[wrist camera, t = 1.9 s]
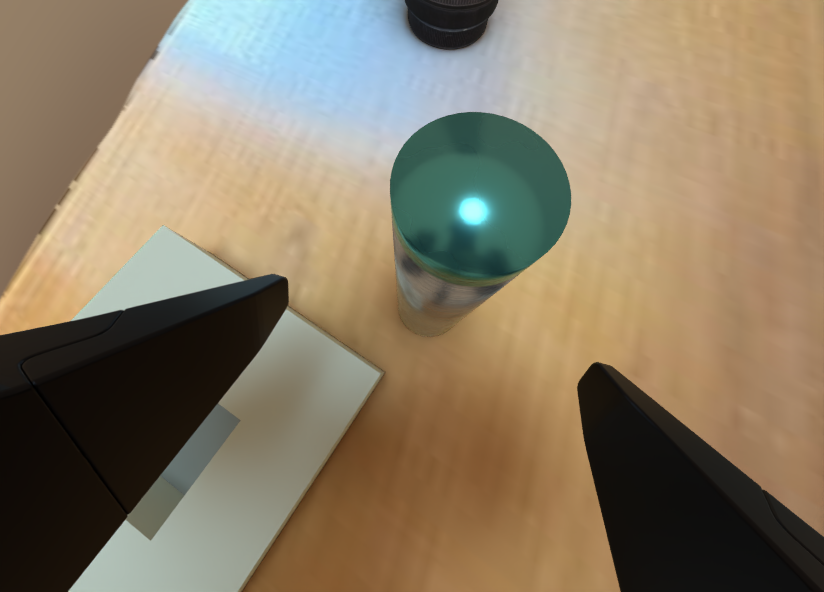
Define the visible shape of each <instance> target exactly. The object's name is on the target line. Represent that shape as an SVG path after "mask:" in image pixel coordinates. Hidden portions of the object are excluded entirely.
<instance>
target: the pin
mask: <svg viewBox="0 0 824 592" xmlns="http://www.w3.org/2000/svg"><path fill="white" fill-rule="evenodd" d="M390 197H391V211H392V226H393V240H394V255H395V269H396V284H397V298H398V310H399V315H400V318H401V320H402V322H403V323H404V324H405V326H406V327H407V328H408V329H409V330H411V331H412V332H414V333H415V334H418V335H421V336H426V337H433V336H438V335H441V334H443V333H445V332H446V331H448V330H449V329H450V328H452V327H453V326H454V325H455V324H457V323H458V322H459V321H461V320H462V319H463V318H464V317H466V316H467V315H468V314H469V313H471V312H472V311H473V310H474V309H476V308H477V307H478V306H480V305H481V304H482V303H483V302H485V301H486V300H487V299H488V298H490V297H491V296H492V295H494V294H495V293H496V292H497V291H499V290H500V289H501V288H502V287H504V286H505V285H506V284H508V283H509V282H510V281H511V280H513V279H514V278H515V277H516V276H518V275H519V274H520V273H522V272H523V271H524V270H525V269H527V268H528V267H529V266H530V265H532V264H533V263H534V262H536V261H537V260H538V259H539V258H541V257H542V256H543V255H544V254H546V253H547V252H548V251H549V250H550V249H551V248H552V247H553V246H554V245H555V244H556V242H557V241H558V239H559V238H560V236H561V235H562V233H563V231H564V229H565V227H566V225H567V221H568V218H569V215H570V208H571V190H570V184H569V180H568V177H567V173H566V171H565V169H564V167H563V164H562V162H561V161H560V159H559V157H558V156H557V154H556V153H555V152H554V150H553V149H552V148H551V147H550V145H549V144H548V143H547V142H546V141H545V140H544V139H543V138H542V137H540V136H539V135H538V134H536V133H535V132H534V131H533V130H531V129H529V128H528V127H526V126H524V125H523V124H521V123H518V122H516V121H514V120H512V119H509V118H506V117H503V116H499V115H495V114H490V113H482V112H466V113H457V114H453V115H448V116H445V117H442V118H439V119H437V120H435V121H432V122H430V123H428V124H427V125H425V126H424V127H422V128H421V129H419V130H418V131H417V132H416V133H414V134H413V135H412V136H411V137H410V138H409V139H408V141H407V142H406V143H405V144H404V146H403V147H402V149H401V150H400V151H399V154H398V156H397V158H396V160H395V162H394V165H393V169H392V173H391V179H390Z"/></svg>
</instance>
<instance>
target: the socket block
mask: <svg viewBox="0 0 824 592" xmlns="http://www.w3.org/2000/svg"><path fill="white" fill-rule="evenodd" d="M244 280H249V279H248V278H247V277H245V276H244V275H242V274H241V273H239V272H238V271H236V270H235V269H233V268H232V267H230V266H229V265H228V264H226V263H225V262H223V261H222V260H220V259H219V258H217V257H216V256H214V255H213V254H211V253H210V252H208V251H206V250H205V249H203V248H201V247H200V246H198V245H196V244H195V243H193V242H191V241H190V240H188V239H186V238H184V237H183V236H181V235H179V234H178V233H176V232H174V231H173V230H171V229H169V228H168V227H166V226H164V225H163V226H162V227H161V228H160V229H159V230H158V231H157V232H156V233H155V234H154V235H153V236H152V237H151V238H150V239H149V240H148V241H147V242H146V243H145V244H144V245H143V246H142V247H141V248H140V249H139V251H138V252H137V253H136V254H135V255H134V256H133V257H132V258H131V259H130V260H129V261H128V262H127V263H126V264H125V265H124V266H123V267H122V268H121V269H120V270H119V271H118V272H117V273H116V274H115V275H114V277H113V278H112V279H111V280H110V281H109V282H108V283H107V284H106V285H105V286H104V287H103V288H102V289H101V290H100V291H99V292H98V293H97V294H96V295H95V296H94V297H93V298H92V299H91V300H90V301H89V303H88V304H87V305H86V306H85V307H84V308H83V309H82V310H81V311H80V312H79V313H78V314H77V315H76V316H75V317H74V318H73V319H72V320H71V321H74V320H79V319H83V318H87V317H92V316H96V315H101V314H105V313H109V312H113V311H117V310H125V309H126V308H131V307H135V306H139V305H143V304H147V303H152V302H156V301H160V300H164V299H168V298H173V297H177V296H181V295H185V294H190V293H194V292H198V291H202V290H206V289H211V288H215V287H219V286H223V285H227V284H232V283H236V282H240V281H244ZM384 374H385V372H384V371H383V370H381V369H380V368H378V367H377V366H375V365H374V364H373V363H371V362H370V361H368V360H367V359H365V358H364V357H362V356H361V355H359V354H358V353H356V352H355V351H354V350H352V349H351V348H349V347H348V346H346V345H345V344H343V343H342V342H340V341H339V340H337V339H336V338H334V337H333V336H332V335H330V334H329V333H327V332H326V331H324V330H323V329H321V328H320V327H318V326H317V325H315V324H314V323H313V322H311V321H310V320H308V319H307V318H305V317H304V316H302V315H301V314H299V313H298V312H296V311H295V310H293V309H292V308H291V307H289V306H287V308H286V310H285V312H284V313H283V315H282V317H281V318H280V320H279V321H278V323H277V325H276V326H275V328H274V329H273V331H272V333H271V334H270V336H269V337H268V339H267V341H266V342H265V344H264V345H263V347H262V348H261V350H260V351H259V352H258V354H257V355H256V356H255V357H254V359H253V360H252V361H251V362H250V364H249V365H248V366H247V367H246V369H245V370H244V371H243V373H242V374H241V375H240V376H239V378H238V379H237V380H236V381H235V383H234V384H233V385H232V386H231V388H230V389H229V390H228V391H227V393H226V394H225V395H224V396H223V398H222V399H221V400H220V401H219V403H218V404H217V405H216V406H215V408H214V409H213V410H212V411H211V413H210V414H209V415H208V416H207V418H206V419H205V420H204V421H203V423H202V424H201V425H200V426H199V428H198V429H197V430H196V431H195V433H194V434H193V435H192V436H191V438H190V439H189V440H188V441H187V443H186V444H185V445H184V447H183V448H182V449H181V450H180V452H179V453H178V454H177V455H176V457H175V458H174V459H173V460H172V462H171V463H170V464H169V465H168V467H167V468H166V469H165V470H164V472H163V473H162V474H161V475H160V477H159V478H158V479H157V480H156V482H155V483H154V484H153V485H152V487H151V488H150V489H149V490H148V492H147V493H146V494H145V495H144V497H143V498H142V499H141V500H140V502H139V503H138V504H137V505H136V507H135V508H134V509H133V510H132V512H131V513H130V514H128V517H127V518H126V520H125V521H124V522H123V523H122V525H121V526H120V527H119V528H118V530H117V531H116V532H115V533H114V535H113V536H112V537H111V539H110V540H109V541H108V542H107V544H106V545H105V546H104V547H103V549H102V550H101V551H100V552H99V554H98V555H97V556H96V557H95V559H94V560H93V561H92V562H91V564H90V565H89V566H88V567H87V569H86V570H85V571H84V572H83V574H82V575H81V576H80V577H79V579H78V580H77V581H76V582H75V584H74V585H73V586H72V587H71V589H70V590H69V591H68V592H242V591H243V589H244V588H245V586H246V585H247V583H248V581H249V580H250V578H251V577H252V575H253V574H254V572H255V571H256V569H257V568H258V566H259V565H260V563H261V562H262V560H263V559H264V557H265V555H266V554H267V552H268V551H269V549H270V548H271V546H272V545H273V543H274V542H275V540H276V539H277V537H278V536H279V534H280V533H281V531H282V530H283V528H284V526H285V525H286V523H287V522H288V520H289V519H290V517H291V516H292V514H293V513H294V511H295V510H296V508H297V507H298V505H299V504H300V502H301V500H302V499H303V497H304V496H305V494H306V493H307V491H308V490H309V488H310V487H311V485H312V484H313V482H314V481H315V479H316V478H317V476H318V475H319V473H320V471H321V470H322V468H323V467H324V465H325V464H326V462H327V461H328V459H329V458H330V456H331V455H332V453H333V452H334V450H335V449H336V447H337V445H338V444H339V442H340V441H341V439H342V438H343V436H344V435H345V433H346V432H347V430H348V429H349V427H350V426H351V424H352V423H353V421H354V419H355V418H356V416H357V415H358V413H359V412H360V410H361V409H362V407H363V406H364V404H365V403H366V401H367V400H368V398H369V397H370V395H371V394H372V392H373V390H374V389H375V387H376V386H377V384H378V383H379V381H380V380H381V378H382V377H383V375H384Z"/></svg>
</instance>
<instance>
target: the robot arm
mask: <svg viewBox="0 0 824 592" xmlns="http://www.w3.org/2000/svg"><path fill="white" fill-rule="evenodd" d="M288 302H289V296H288V280H287V278H286V277H283V276H279V275H276V274H270V275H265V276H261V277H257V278H253V279H249V280H244V281H240V282H236V283H232V284H227V285H223V286H219V287H215V288H211V289H206V290H202V291H198V292H194V293H190V294H185V295H181V296H177V297H173V298H168V299H164V300H160V301H156V302H152V303H147V304H143V305H139V306H135V307H131V308H126V309H125V310H117V311H113V312H109V313H105V314H101V315H96V316H92V317H87V318H83V319H79V320H74V321H70V322H65V323H60V324H55V325H50V326H45V327H40V328H35V329H30V330H25V331H20V332H15V333H10V334H5V335H0V592H68V591H69V590H70V589H71V587H72V586H73V585H74V584H75V582H76V581H77V580H78V579H79V577H80V576H81V575H82V574H83V572H84V571H85V570H86V569H87V567H88V566H89V565H90V564H91V562H92V561H93V560H94V559H95V557H96V556H97V555H98V554H99V552H100V551H101V550H102V549H103V547H104V546H105V545H106V544H107V542H108V541H109V540H110V539H111V537H112V536H113V535H114V533H115V532H116V531H117V530H118V528H119V527H120V526H121V525H122V523H123V522H124V521H125V520H126V518H127V517H128V514H130V513H131V512H132V510H133V509H134V508H135V507H136V505H137V504H138V503H139V502H140V500H141V499H142V498H143V497H144V495H145V494H146V493H147V492H148V490H149V489H150V488H151V487H152V485H153V484H154V483H155V482H156V480H157V479H158V478H159V477H160V475H161V474H162V473H163V472H164V470H165V469H166V468H167V467H168V465H169V464H170V463H171V462H172V460H173V459H174V458H175V457H176V455H177V454H178V453H179V452H180V450H181V449H182V448H183V447H184V445H185V444H186V443H187V441H188V440H189V439H190V438H191V436H192V435H193V434H194V433H195V431H196V430H197V429H198V428H199V426H200V425H201V424H202V423H203V421H204V420H205V419H206V418H207V416H208V415H209V414H210V413H211V411H212V410H213V409H214V408H215V406H216V405H217V404H218V403H219V401H220V400H221V399H222V398H223V396H224V395H225V394H226V393H227V391H228V390H229V389H230V388H231V386H232V385H233V384H234V383H235V381H236V380H237V379H238V378H239V376H240V375H241V374H242V373H243V371H244V370H245V369H246V367H247V366H248V365H249V364H250V362H251V361H252V360H253V359H254V357H255V356H256V355H257V354H258V352H259V351H260V350H261V348H262V347H263V345H264V344H265V342H266V341H267V339H268V337H269V336H270V334H271V333H272V331H273V329H274V328H275V326H276V325H277V323H278V321H279V320H280V318H281V317H282V315H283V313H284V312H285V310H286V308H287V306H288ZM577 391H578V399H579V406H580V414H581V422H582V429H583V436H584V441H585V446H586V451H587V455H588V459H589V463H590V467H591V471H592V475H593V479H594V484H595V488H596V492H597V496H598V500H599V504H600V508H601V512H602V517H603V521H604V525H605V529H606V533H607V537H608V541H609V545H610V550H611V554H612V558H613V562H614V566H615V570H616V574H617V578H618V583H619V587H620V591H621V592H824V537H823V536H822V535H820V534H819V533H818V532H817V531H815V530H814V529H813V528H812V527H810V526H809V525H808V524H807V523H805V522H804V521H803V520H802V519H800V518H799V517H798V516H797V515H795V514H794V513H793V512H792V511H790V510H789V509H788V508H787V507H785V506H784V505H783V504H782V503H780V502H779V501H778V500H777V499H775V498H774V497H773V496H772V495H771V494H769V493H768V492H767V491H765V490H762V489H761V487H760V486H759V485H758V484H757V483H756V482H754V481H753V480H752V479H751V478H749V477H748V476H747V475H746V474H744V473H743V472H742V471H741V470H740V469H738V468H737V467H736V466H735V465H733V464H732V463H731V462H730V461H728V460H727V459H726V458H725V457H723V456H722V455H721V454H720V453H719V452H717V451H716V450H715V449H714V448H712V447H711V446H710V445H709V444H707V443H706V442H705V441H704V440H702V439H701V438H700V437H699V436H698V435H696V434H695V433H694V432H693V431H691V430H690V429H689V428H688V427H686V426H685V425H684V424H683V423H681V422H680V421H679V420H678V419H677V418H675V417H674V416H673V415H672V414H670V413H669V412H668V411H667V410H665V409H664V408H663V407H662V406H660V405H659V404H658V403H657V402H656V401H654V400H653V399H652V398H651V397H649V396H648V395H647V394H646V393H644V392H643V391H642V390H641V389H639V388H638V387H637V386H636V385H635V384H633V383H632V382H631V381H630V380H628V379H627V378H626V377H625V376H623V375H622V374H621V373H620V372H618V371H617V370H616V369H615V368H614V367H612V366H610V365H607V364H603V363H599V362H595V363H593V364H592V365H591V366H590V367H589V369H588V370H587V371H586V373H585V374H584V375H583V376H582V378H581V379H580V381H579V383H578V386H577Z"/></svg>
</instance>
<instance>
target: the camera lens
mask: <svg viewBox="0 0 824 592" xmlns="http://www.w3.org/2000/svg"><path fill="white" fill-rule="evenodd" d="M405 2H406V5H407V6H408V19H409V24H410V26H411V28H412V30H413V32H414V33H415V34H416V36H418V37H419V38H420V39H421V40H422V41H424V42H425V43H427V44H429V45H431V46H435V47H438V48H443V49H456V48H461V47H465V46H468V45H470V44H471V43H473V42H475V41H476V40H477V39H478V38H479V37H480V36H481V35H482V33H483V32H484V30H485V28H486V25H487V21H488V18H489V17H490V16H491V14H492V13H493V12H494V10H495V8H496V6H497V3H498V0H405Z"/></svg>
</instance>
